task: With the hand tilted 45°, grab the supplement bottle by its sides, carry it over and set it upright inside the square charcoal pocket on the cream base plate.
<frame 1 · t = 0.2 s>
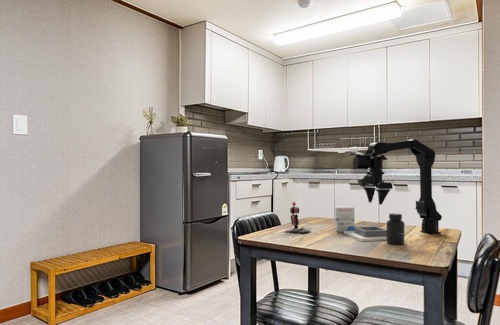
hand: (375, 203, 162), 14 cm above the table, fingers open, 9 cm apart
statue: (298, 232, 171), on the table
pocket plate: (371, 236, 159), on the table
supplement bottle: (395, 243, 144), on the table
ink box: (344, 231, 173), on the table
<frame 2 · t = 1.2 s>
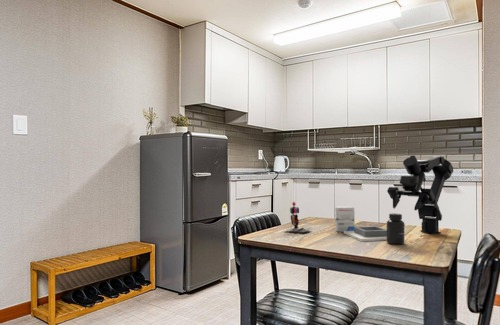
hand: (404, 208, 150), 13 cm above the table, fingers open, 9 cm apart
nothing on the table moved.
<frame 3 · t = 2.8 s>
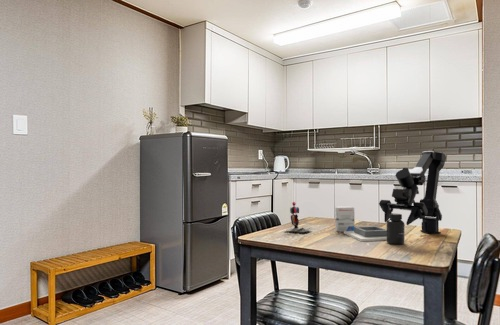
hand: (395, 223, 144), 8 cm above the table, fingers open, 9 cm apart
nothing on the table moved.
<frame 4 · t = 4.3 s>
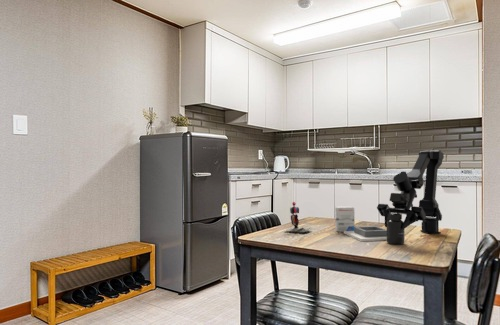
hand: (393, 227, 143), 7 cm above the table, fingers closed on supplement bottle, 7 cm apart
supplement bottle: (395, 243, 144), on the table, touching gripper
everything else where it was.
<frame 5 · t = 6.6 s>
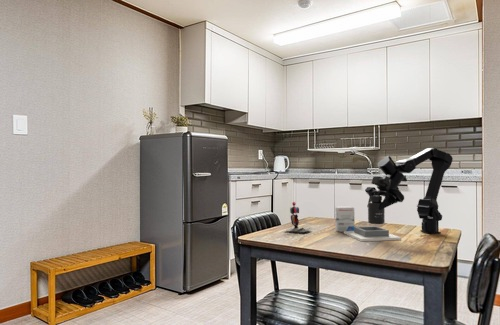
hand: (373, 208, 154), 13 cm above the table, fingers closed on supplement bottle, 7 cm apart
supplement bottle: (376, 223, 154), point 6 cm above the table, touching gripper
everything else where it was.
when the fingers open (9 cm above the table, at t = 9.0 s): supplement bottle drops 1 cm, resting on pocket plate.
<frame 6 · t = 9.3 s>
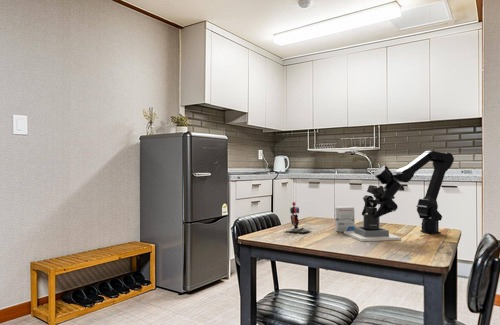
hand: (368, 216, 158), 9 cm above the table, fingers open, 9 cm apart
supplement bottle: (371, 234, 159), point 1 cm above the table, touching pocket plate
everything else where it was.
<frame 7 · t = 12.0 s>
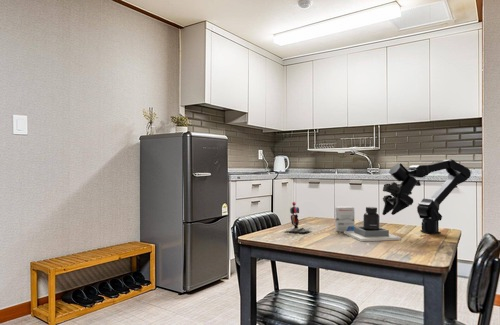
hand: (387, 214, 161), 9 cm above the table, fingers open, 9 cm apart
nothing on the table moved.
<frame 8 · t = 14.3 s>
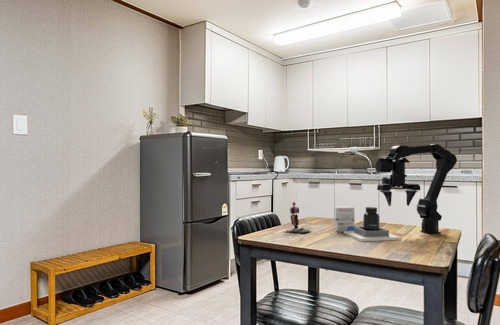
hand: (398, 205, 165), 13 cm above the table, fingers open, 9 cm apart
nothing on the table moved.
at the end: supplement bottle 0.2 cm off-centre on the pocket plate, point 0.8 cm above the pocket plate's base; supplement bottle tilted 0°; the gripper is holding nothing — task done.
